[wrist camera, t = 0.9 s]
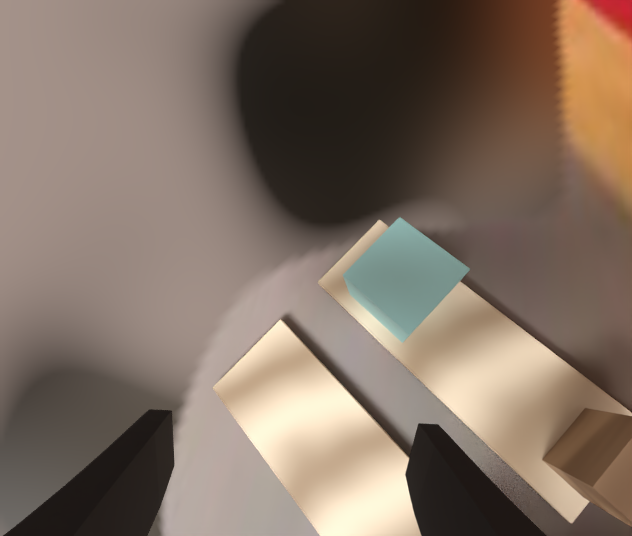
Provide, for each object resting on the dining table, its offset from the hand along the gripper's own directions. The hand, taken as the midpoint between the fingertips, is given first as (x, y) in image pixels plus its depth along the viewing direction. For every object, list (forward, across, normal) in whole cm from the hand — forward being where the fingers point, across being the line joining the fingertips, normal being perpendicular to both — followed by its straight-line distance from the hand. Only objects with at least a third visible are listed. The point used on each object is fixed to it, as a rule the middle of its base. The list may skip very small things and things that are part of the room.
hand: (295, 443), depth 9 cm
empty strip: (+8, -4, +11) cm, 14 cm away
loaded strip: (+11, -11, +3) cm, 16 cm away
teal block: (+13, -7, 0) cm, 15 cm away
